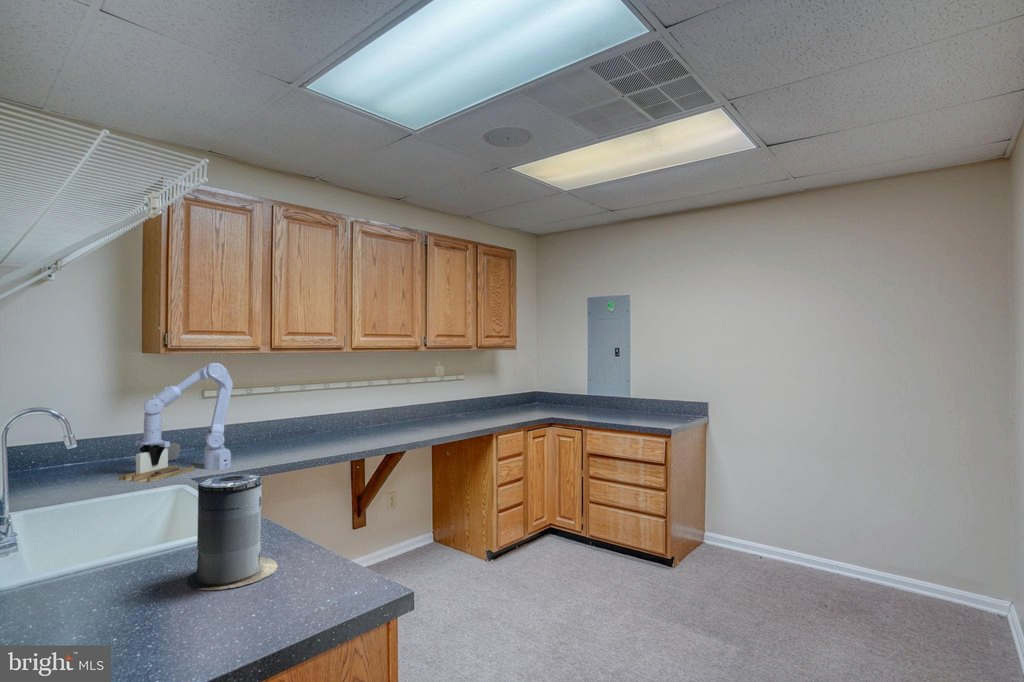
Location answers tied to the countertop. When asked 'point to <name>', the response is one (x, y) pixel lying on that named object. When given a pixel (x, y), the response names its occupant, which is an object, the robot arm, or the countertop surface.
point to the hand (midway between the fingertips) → (152, 464)
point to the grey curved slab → (173, 451)
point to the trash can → (229, 534)
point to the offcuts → (164, 471)
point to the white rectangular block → (145, 462)
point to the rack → (147, 476)
